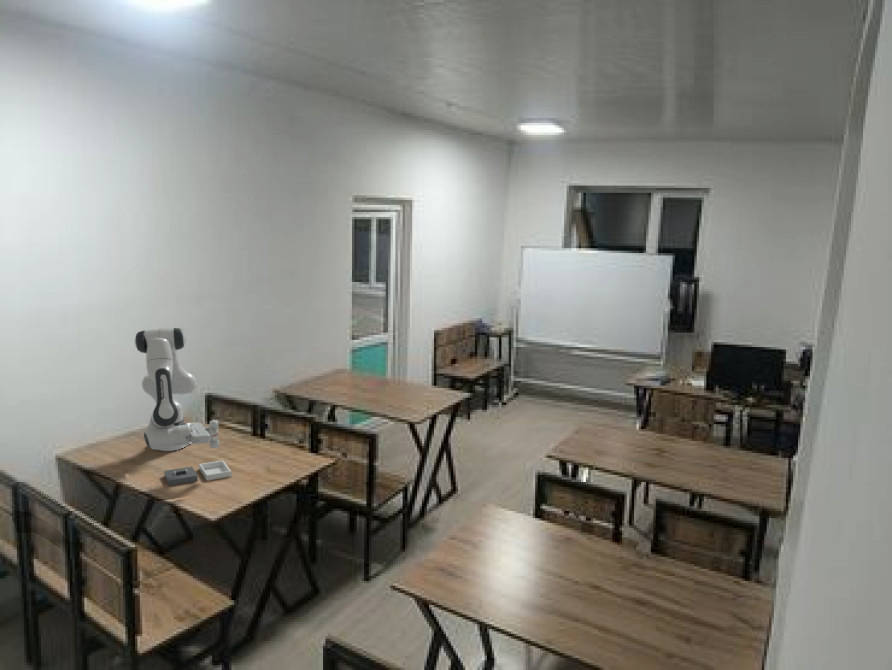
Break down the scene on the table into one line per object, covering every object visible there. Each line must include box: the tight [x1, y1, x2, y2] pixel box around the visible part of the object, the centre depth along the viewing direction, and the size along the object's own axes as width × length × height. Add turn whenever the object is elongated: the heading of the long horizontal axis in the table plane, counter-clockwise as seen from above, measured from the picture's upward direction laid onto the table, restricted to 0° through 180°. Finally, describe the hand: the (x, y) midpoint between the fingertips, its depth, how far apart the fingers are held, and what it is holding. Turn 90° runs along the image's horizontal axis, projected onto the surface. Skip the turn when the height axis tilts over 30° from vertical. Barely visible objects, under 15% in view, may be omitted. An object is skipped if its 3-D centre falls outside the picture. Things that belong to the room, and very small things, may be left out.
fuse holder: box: [163, 466, 199, 487], centre depth 295 cm, size 12×12×5 cm
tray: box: [198, 460, 232, 482], centre depth 303 cm, size 15×11×4 cm
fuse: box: [209, 419, 220, 449], centre depth 300 cm, size 4×4×12 cm
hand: (216, 430), depth 300 cm, fingers closed on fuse, 3 cm apart
